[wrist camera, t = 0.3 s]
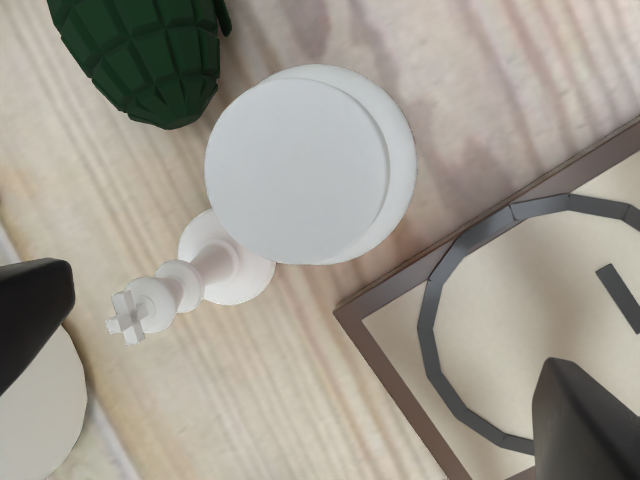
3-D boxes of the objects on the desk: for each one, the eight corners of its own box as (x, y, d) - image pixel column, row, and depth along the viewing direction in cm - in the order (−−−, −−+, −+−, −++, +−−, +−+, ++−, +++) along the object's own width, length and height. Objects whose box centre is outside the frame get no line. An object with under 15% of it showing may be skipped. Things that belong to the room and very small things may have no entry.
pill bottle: (255, 168, 24) (130, 190, 13) (336, 59, 22) (266, -14, 12) (356, 251, 24) (312, 341, 13) (444, 148, 22) (474, 155, 12)
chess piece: (261, 195, 24) (161, 232, 15) (287, 292, 25) (208, 389, 15) (170, 217, 25) (20, 265, 16) (197, 310, 26) (70, 411, 16)
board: (471, 500, 25) (474, 518, 24) (334, 306, 25) (330, 314, 23) (804, 344, 21) (828, 356, 20) (652, 106, 21) (667, 104, 19)
